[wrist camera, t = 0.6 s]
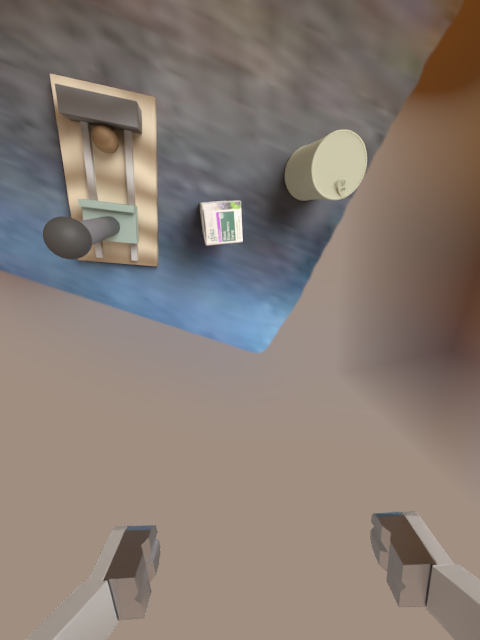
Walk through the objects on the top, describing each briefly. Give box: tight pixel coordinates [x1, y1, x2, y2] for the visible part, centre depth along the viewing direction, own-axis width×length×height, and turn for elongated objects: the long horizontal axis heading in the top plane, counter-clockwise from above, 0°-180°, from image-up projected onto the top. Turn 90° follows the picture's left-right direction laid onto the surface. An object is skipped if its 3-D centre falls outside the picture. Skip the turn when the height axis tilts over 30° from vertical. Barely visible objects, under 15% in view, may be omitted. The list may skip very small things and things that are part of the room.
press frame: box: [50, 74, 158, 266], centre depth 40 cm, size 26×14×6 cm, turn 173°
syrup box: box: [199, 201, 243, 246], centre depth 41 cm, size 6×6×14 cm
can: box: [285, 130, 367, 201], centre depth 42 cm, size 9×9×12 cm
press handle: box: [43, 199, 139, 259], centre depth 33 cm, size 6×8×20 cm
